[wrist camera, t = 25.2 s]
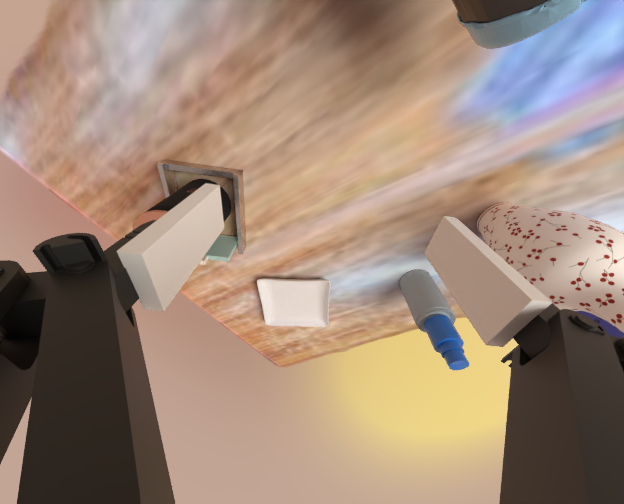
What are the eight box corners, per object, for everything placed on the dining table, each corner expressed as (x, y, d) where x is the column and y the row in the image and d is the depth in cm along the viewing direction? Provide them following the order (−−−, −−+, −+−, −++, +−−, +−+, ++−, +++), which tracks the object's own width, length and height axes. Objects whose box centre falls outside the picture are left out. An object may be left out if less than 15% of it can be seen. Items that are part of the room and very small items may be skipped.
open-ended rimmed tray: (166, 159, 47) (156, 163, 44) (242, 170, 48) (237, 175, 45) (185, 239, 58) (178, 246, 55) (246, 246, 59) (242, 254, 56)
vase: (466, 192, 49) (673, 325, 20) (547, 179, 47) (903, 307, 18) (454, 251, 58) (585, 400, 30) (521, 242, 56) (733, 393, 27)
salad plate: (267, 318, 77) (265, 327, 74) (258, 272, 65) (255, 280, 62) (328, 319, 76) (328, 327, 74) (330, 272, 64) (330, 280, 61)
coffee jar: (241, 212, 53) (212, 256, 39) (205, 226, 56) (164, 272, 41) (215, 169, 48) (169, 202, 33) (176, 187, 50) (117, 224, 35)
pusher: (188, 230, 56) (163, 255, 47) (239, 236, 57) (224, 263, 48) (189, 234, 57) (165, 260, 48) (239, 240, 58) (225, 267, 49)
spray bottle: (431, 267, 61) (488, 351, 41) (430, 289, 66) (479, 374, 46) (398, 272, 63) (437, 356, 42) (399, 293, 68) (434, 378, 47)
